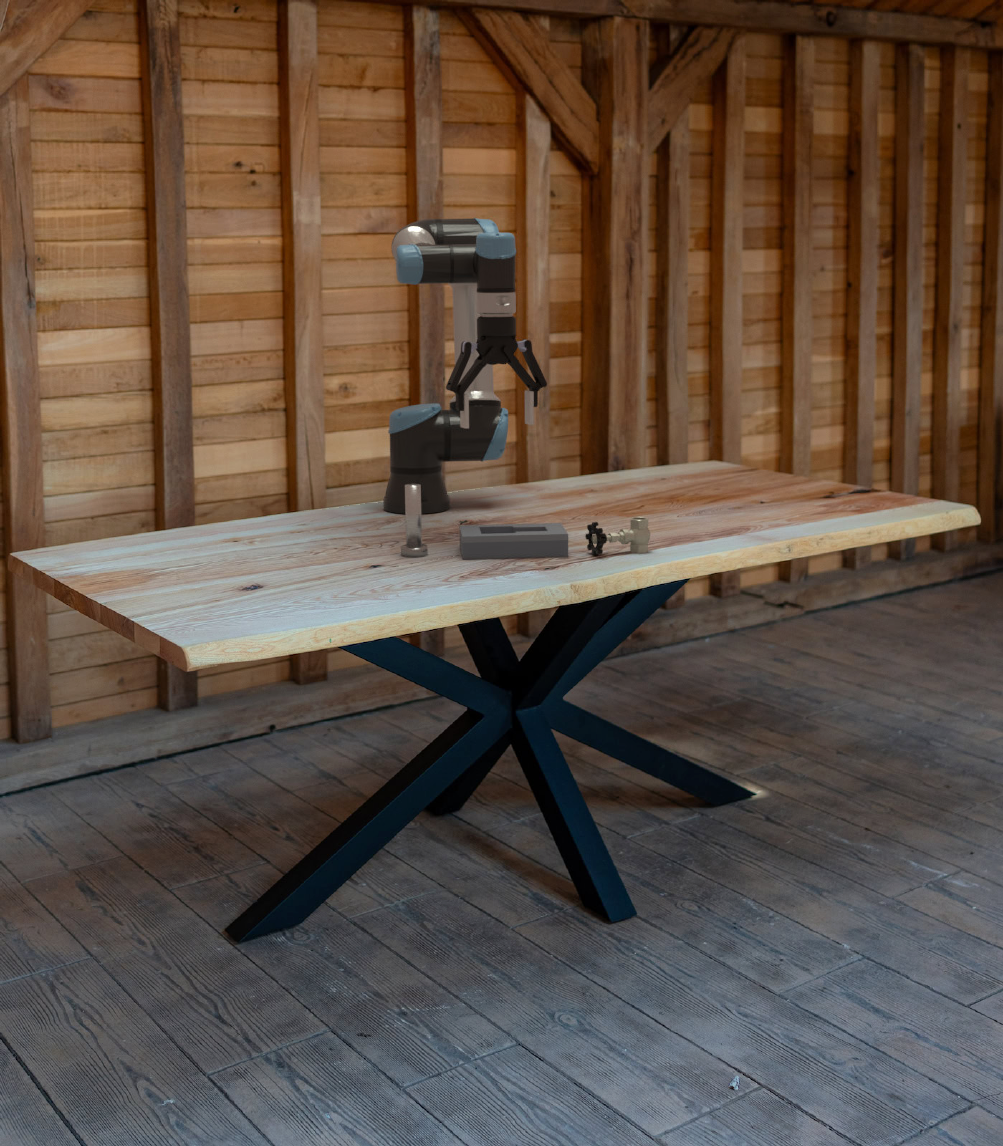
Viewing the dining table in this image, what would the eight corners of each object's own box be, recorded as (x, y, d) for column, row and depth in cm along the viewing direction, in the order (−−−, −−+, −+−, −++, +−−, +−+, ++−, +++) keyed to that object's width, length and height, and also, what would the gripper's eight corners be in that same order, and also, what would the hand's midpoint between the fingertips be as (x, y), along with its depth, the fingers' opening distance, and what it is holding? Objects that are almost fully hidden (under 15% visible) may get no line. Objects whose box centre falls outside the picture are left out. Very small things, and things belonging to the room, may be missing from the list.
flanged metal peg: (395, 555, 259) (393, 485, 256) (413, 550, 263) (411, 482, 259) (415, 558, 255) (413, 488, 252) (433, 553, 259) (432, 484, 256)
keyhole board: (463, 559, 254) (462, 536, 253) (459, 547, 265) (459, 525, 264) (568, 556, 256) (568, 533, 255) (560, 544, 267) (560, 522, 266)
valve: (640, 547, 264) (585, 553, 260) (641, 514, 263) (585, 519, 258) (656, 554, 258) (599, 559, 254) (657, 520, 257) (600, 525, 252)
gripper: (441, 317, 251) (443, 431, 256) (563, 314, 260) (563, 424, 265) (428, 316, 258) (430, 427, 262) (547, 313, 267) (547, 420, 272)
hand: (497, 426), depth 264 cm, fingers open, 13 cm apart
